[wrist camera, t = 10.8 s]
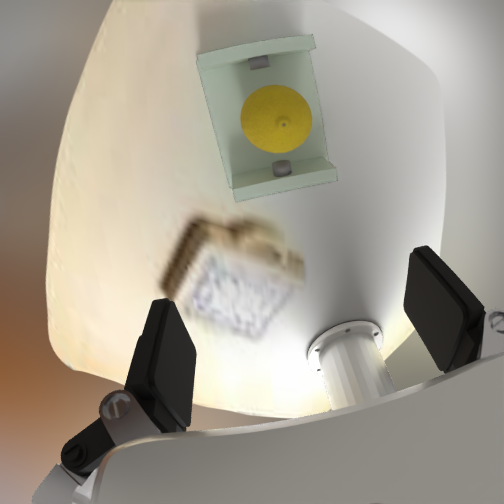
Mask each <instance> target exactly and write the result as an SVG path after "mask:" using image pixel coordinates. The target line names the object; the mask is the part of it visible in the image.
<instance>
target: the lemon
mask: <svg viewBox="0 0 504 504" xmlns="http://www.w3.org/2000/svg"><path fill="white" fill-rule="evenodd" d="M240 121H241V127H242V130H243V132H244V134H245V136H246V137H247V138H248V140H249V141H250V142H251V143H252V144H253V145H255V146H256V147H257V148H259V149H261V150H264V151H266V152H271V153H285V152H289V151H292V150H294V149H296V148H297V147H299V146H300V145H301V144H302V143H303V142H304V141H305V140H306V139H307V137H308V136H309V134H310V131H311V128H312V113H311V109H310V107H309V105H308V103H307V101H306V100H305V99H304V98H303V97H302V95H301V94H299V93H298V92H296V91H295V90H293V89H292V88H289V87H286V86H282V85H269V86H264V87H262V88H259V89H257V90H256V91H254V92H253V93H252V94H250V95H249V97H248V98H247V99H246V100H245V102H244V104H243V106H242V109H241V115H240Z"/></svg>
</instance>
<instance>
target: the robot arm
mask: <svg viewBox="0 0 504 504" xmlns="http://www.w3.org/2000/svg"><path fill="white" fill-rule="evenodd" d="M403 306H404V311H405V313H406V314H407V316H408V318H409V319H410V321H411V322H412V324H413V326H414V327H415V329H416V330H417V332H418V334H419V336H420V337H421V339H422V341H423V342H424V344H425V346H426V347H427V349H428V351H429V352H430V354H431V356H432V358H433V359H434V361H435V363H436V365H437V367H438V368H439V370H440V371H444V373H445V374H444V375H441V376H439V377H436V378H434V379H431V380H428V381H426V382H423V383H421V384H418V385H415V386H412V387H410V388H407V389H404V390H401V391H398V392H397V390H396V388H395V385H394V383H393V381H392V379H391V376H390V374H389V372H388V369H387V367H386V365H385V363H384V360H383V358H382V356H381V354H380V349H381V347H382V344H383V334H382V332H381V330H380V328H379V327H378V326H377V325H375V324H373V323H372V322H368V321H351V322H347V323H343V324H340V325H338V326H335V327H333V328H331V329H329V330H328V331H326V332H325V333H323V334H322V335H321V336H319V337H318V338H317V339H316V340H315V341H314V343H313V344H312V345H311V347H310V349H309V351H308V362H309V365H310V367H311V369H312V370H313V371H315V372H317V373H319V374H322V376H323V379H324V383H325V387H326V390H327V394H328V398H329V402H330V405H331V409H332V411H328V412H323V413H319V414H314V415H310V416H305V417H300V418H294V419H289V420H284V421H277V422H272V423H265V424H258V425H250V426H242V427H233V428H223V429H213V430H201V431H186V427H189V426H190V423H191V412H192V399H193V387H194V376H195V366H196V349H195V346H194V344H193V342H192V340H191V338H190V336H189V334H188V331H187V329H186V327H185V325H184V323H183V321H182V318H181V316H180V314H179V312H178V310H177V307H176V305H175V303H174V302H173V301H169V299H168V298H164V299H158V300H153V302H152V304H151V307H150V310H149V313H148V317H147V320H146V323H145V326H144V330H143V333H142V335H141V336H140V337H139V339H138V341H137V344H136V348H135V351H134V355H133V358H132V362H131V365H130V369H129V372H128V376H127V380H126V384H125V387H124V390H115V391H113V392H111V393H109V394H108V395H106V396H105V397H104V398H103V400H102V401H101V403H100V406H99V414H100V418H98V419H97V420H96V421H95V422H93V423H92V424H90V425H89V426H88V427H87V428H85V429H84V430H82V431H81V432H80V433H78V434H77V435H76V436H74V437H73V438H72V439H70V440H69V441H68V442H67V443H66V444H65V445H64V447H63V449H62V452H61V461H62V463H61V464H60V465H59V464H56V465H55V466H54V467H53V469H52V470H51V471H50V473H49V474H48V475H47V476H46V478H45V479H44V480H43V482H42V483H41V484H40V486H39V487H38V488H37V490H36V491H35V492H34V495H33V497H32V503H33V504H504V310H503V309H491V310H490V311H488V312H487V313H486V312H485V311H484V306H483V305H482V304H481V302H480V301H479V300H478V299H477V298H476V296H475V295H474V294H473V293H472V292H471V291H470V290H469V289H468V287H467V286H466V285H465V284H464V283H463V282H462V281H461V280H460V278H459V277H458V276H457V275H456V274H455V273H454V272H453V271H452V270H451V269H450V268H449V267H448V266H447V265H446V263H445V262H444V261H442V259H441V258H440V257H439V256H438V255H437V254H436V253H435V252H434V251H433V250H432V249H431V248H430V247H429V246H427V245H425V246H421V247H417V248H414V250H413V252H412V253H411V254H410V258H409V267H408V275H407V283H406V290H405V297H404V304H403Z"/></svg>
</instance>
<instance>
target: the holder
mask: <svg viewBox="0 0 504 504" xmlns="http://www.w3.org/2000/svg"><path fill="white" fill-rule="evenodd" d="M315 48H316V47H315V42H314V38H313V34H312V35H302V36H292V37H284V38H277V39H270V40H264V41H258V42H252V43H247V44H242V45H237V46H232V47H227V48H223V49H219V50H215V51H211V52H207V53H203V54H199V55H197V58H198V61H196V63H197V67H198V70H199V74H200V78H201V82H202V86H203V89H204V93H205V97H206V101H207V104H208V108H209V112H210V116H211V120H212V123H213V127H214V131H215V135H216V138H217V142H218V146H219V150H220V153H221V157H222V161H223V165H224V168H225V172H226V176H227V180H228V183H229V187H230V188H232V190H233V194H234V198H235V202H240V201H244V200H249V199H253V198H257V197H262V196H266V195H271V194H275V193H280V192H285V191H289V190H294V189H299V188H304V187H308V186H313V185H318V184H323V183H329V182H334V181H338V180H337V171H336V167H335V166H333V165H332V164H331V163H330V162H329V161H328V155H327V148H326V141H325V134H324V128H323V122H322V116H321V110H320V104H319V99H318V93H317V88H316V83H315V78H314V73H313V68H312V63H311V59H310V54H309V50H312V49H315ZM269 85H282V86H286V87H289V88H292V89H293V90H295V91H296V92H298V93H299V94H301V95H302V97H303V98H304V99H305V100H306V101H307V103H308V105H309V107H310V109H311V113H312V128H311V131H310V134H309V136H308V137H307V139H306V140H305V141H304V142H303V143H302V144H301V145H300V146H299V147H297V148H296V149H294V150H292V151H289V152H285V153H271V152H266V151H264V150H261V149H259V148H257V147H256V146H255V145H253V144H252V143H251V142H250V141H249V140H248V138H247V137H246V136H245V134H244V132H243V130H242V127H241V121H240V115H241V109H242V106H243V104H244V102H245V100H246V99H247V98H248V97H249V95H250V94H252V93H253V92H254V91H256V90H257V89H259V88H262V87H264V86H269Z"/></svg>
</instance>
